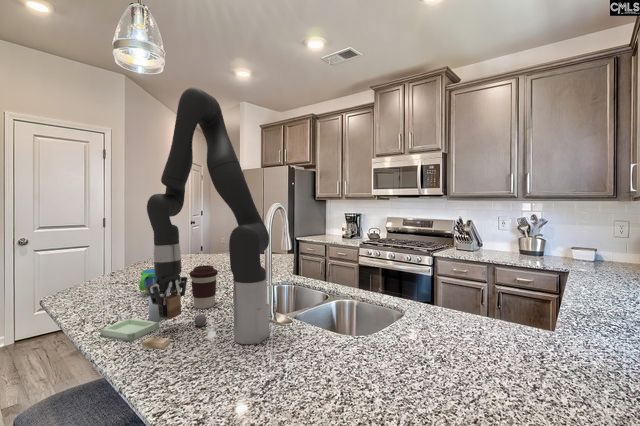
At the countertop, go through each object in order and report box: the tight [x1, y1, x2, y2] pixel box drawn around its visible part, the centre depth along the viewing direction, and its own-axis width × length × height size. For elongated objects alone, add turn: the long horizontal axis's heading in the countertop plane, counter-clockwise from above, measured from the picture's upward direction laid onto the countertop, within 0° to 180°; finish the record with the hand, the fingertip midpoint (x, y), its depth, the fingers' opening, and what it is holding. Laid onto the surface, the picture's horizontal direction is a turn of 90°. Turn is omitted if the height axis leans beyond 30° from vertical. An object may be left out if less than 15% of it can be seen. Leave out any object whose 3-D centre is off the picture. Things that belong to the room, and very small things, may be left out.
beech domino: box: [141, 337, 170, 350], centre depth 91 cm, size 6×3×2 cm, turn 83°
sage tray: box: [99, 317, 160, 342], centre depth 101 cm, size 12×10×2 cm
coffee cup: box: [189, 264, 218, 310], centre depth 125 cm, size 10×10×15 cm
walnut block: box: [158, 293, 182, 320], centre depth 102 cm, size 4×4×6 cm
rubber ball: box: [194, 314, 207, 327], centre depth 105 cm, size 4×4×4 cm
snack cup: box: [138, 268, 164, 297], centre depth 142 cm, size 16×10×10 cm
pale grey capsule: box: [147, 296, 165, 322], centre depth 111 cm, size 5×5×8 cm
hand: (170, 313), depth 102 cm, fingers closed on walnut block, 4 cm apart
